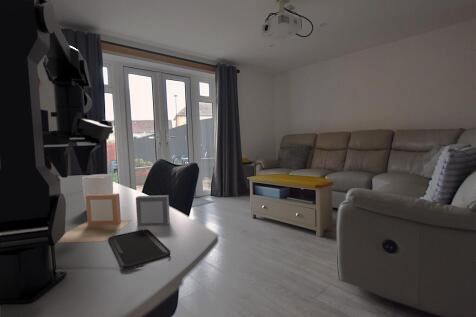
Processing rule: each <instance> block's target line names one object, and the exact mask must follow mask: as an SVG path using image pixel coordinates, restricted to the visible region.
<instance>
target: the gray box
mask: <svg viewBox="0 0 476 317" xmlns="http://www.w3.org/2000/svg"><path fill="white" fill-rule="evenodd" d="M135 207H136V208H135V209H136V224H137V226H138V227H140V226H141V227H142V226H143V227H145V226H148V227H149V226H168V225H169V224H170V222H171V221H170V218H171V217H170V200H169V195H168V194H166V195H165V194H164V195H162V194H161V195H138V196H136V197H135Z"/></svg>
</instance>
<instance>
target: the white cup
mask: <svg viewBox="0 0 476 317" xmlns="http://www.w3.org/2000/svg"><path fill="white" fill-rule="evenodd" d="M113 179H114V175H113V174H111V173H100V174H90V175H84V176H82V177H81V184H82V191H83V199H84V203H85V204H86V196H87V195H89V194H114V180H113ZM85 210H86V211H87V207H86V206H85Z"/></svg>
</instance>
